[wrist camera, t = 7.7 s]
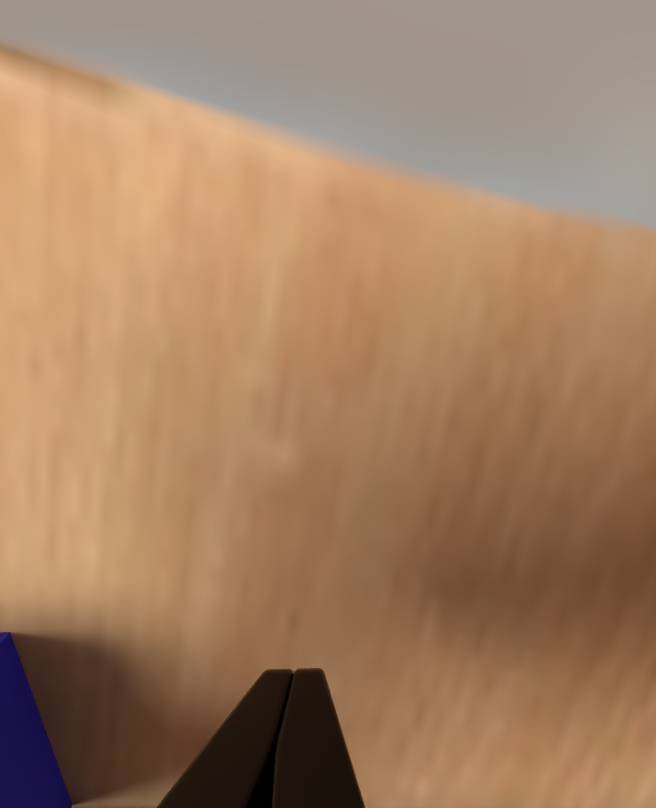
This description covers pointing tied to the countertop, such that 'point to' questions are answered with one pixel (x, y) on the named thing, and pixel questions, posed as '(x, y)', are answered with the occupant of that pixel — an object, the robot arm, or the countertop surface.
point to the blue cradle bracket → (24, 742)
